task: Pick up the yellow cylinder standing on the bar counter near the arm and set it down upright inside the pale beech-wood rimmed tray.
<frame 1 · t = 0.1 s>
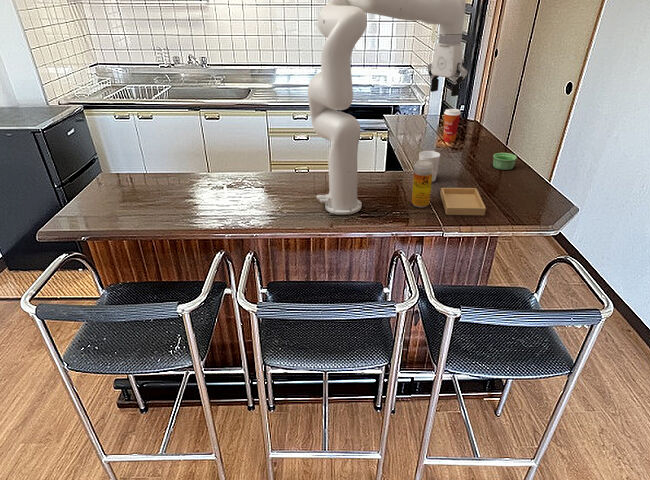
hand: (444, 93, 155), 31 cm above the countertop, tool pointing down, fingers open, 9 cm apart
tray: (461, 204, 150), on the countertop
white cup: (427, 179, 170), on the countertop
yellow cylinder: (420, 205, 151), on the countertop
paper cup: (449, 140, 210), on the countertop
ramekin: (503, 167, 179), on the countertop
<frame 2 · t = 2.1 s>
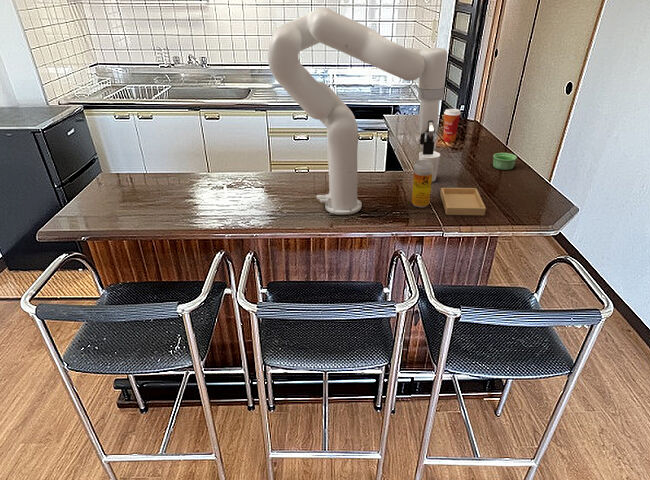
hand: (426, 149, 141), 19 cm above the countertop, tool pointing down, fingers open, 9 cm apart
nothing on the countertop moved.
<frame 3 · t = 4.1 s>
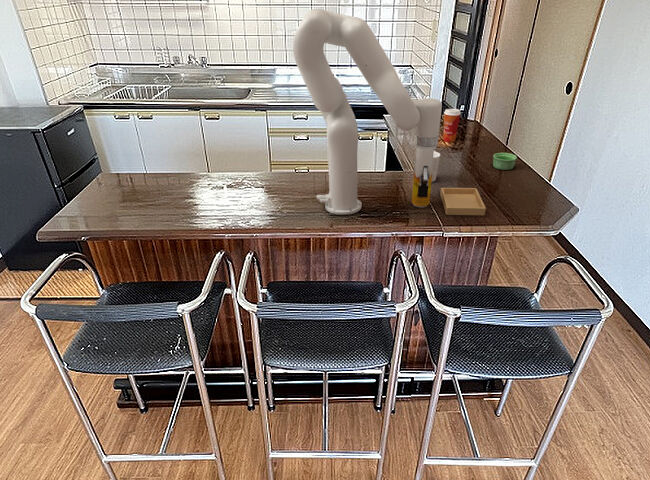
hand: (421, 192, 149), 5 cm above the countertop, tool pointing down, fingers closed on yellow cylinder, 6 cm apart
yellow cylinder: (420, 205, 151), on the countertop, touching gripper
everything else where it was.
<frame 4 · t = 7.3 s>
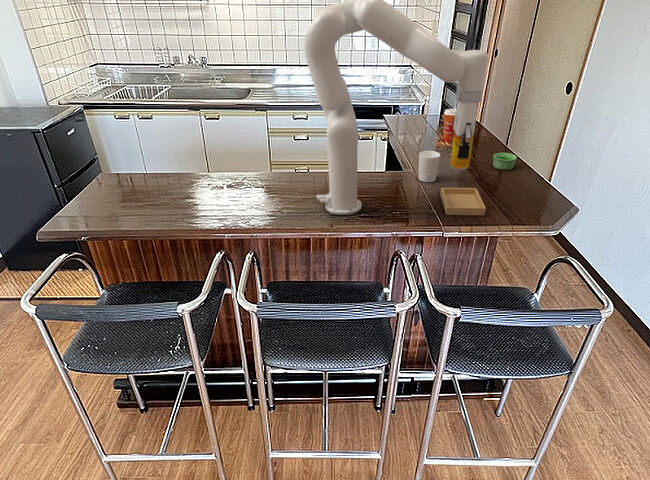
hand: (461, 153, 141), 18 cm above the countertop, tool pointing down, fingers closed on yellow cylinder, 6 cm apart
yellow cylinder: (459, 167, 143), point 13 cm above the countertop, touching gripper
everything else where it was.
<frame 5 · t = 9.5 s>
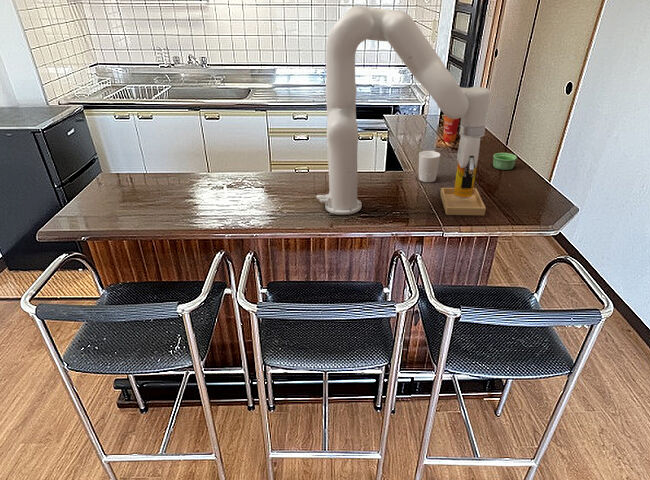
hand: (464, 183, 146), 8 cm above the countertop, tool pointing down, fingers closed on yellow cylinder, 6 cm apart
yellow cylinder: (462, 196, 149), point 3 cm above the countertop, touching gripper
everything else where it was.
when the fingers open (5 cm above the countertop, at t = 10.7 s): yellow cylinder stays where it is, resting on tray.
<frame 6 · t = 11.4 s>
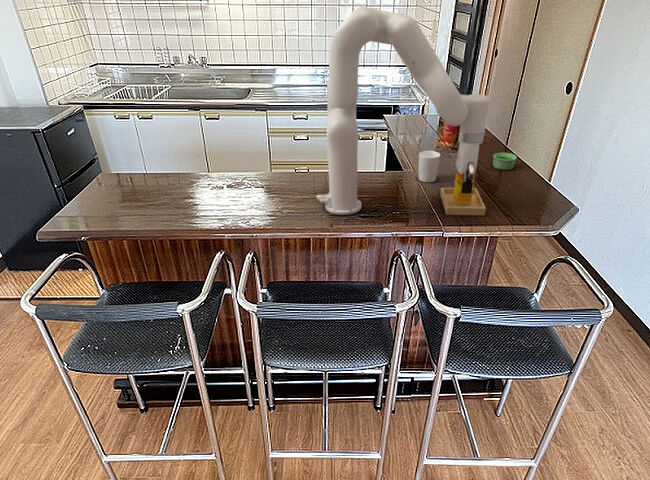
hand: (463, 187, 147), 6 cm above the countertop, tool pointing down, fingers open, 9 cm apart
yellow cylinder: (461, 203, 150), resting on tray
everything else where it was.
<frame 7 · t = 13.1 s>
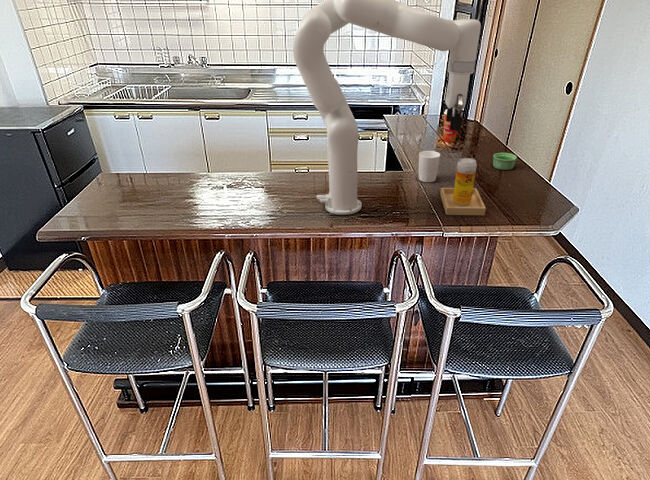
hand: (452, 125, 138), 26 cm above the countertop, tool pointing down, fingers open, 9 cm apart
nothing on the countertop moved.
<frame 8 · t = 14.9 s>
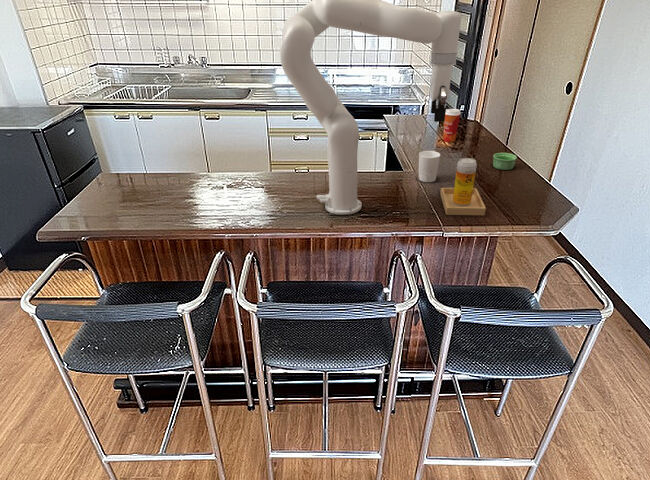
hand: (437, 117, 140), 28 cm above the countertop, tool pointing down, fingers open, 9 cm apart
nothing on the countertop moved.
at the end: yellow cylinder inside the target area in the tray (0.1 cm from its centre), point 0.4 cm above the tray's base; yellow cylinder tilted 0°; the gripper is holding nothing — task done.
